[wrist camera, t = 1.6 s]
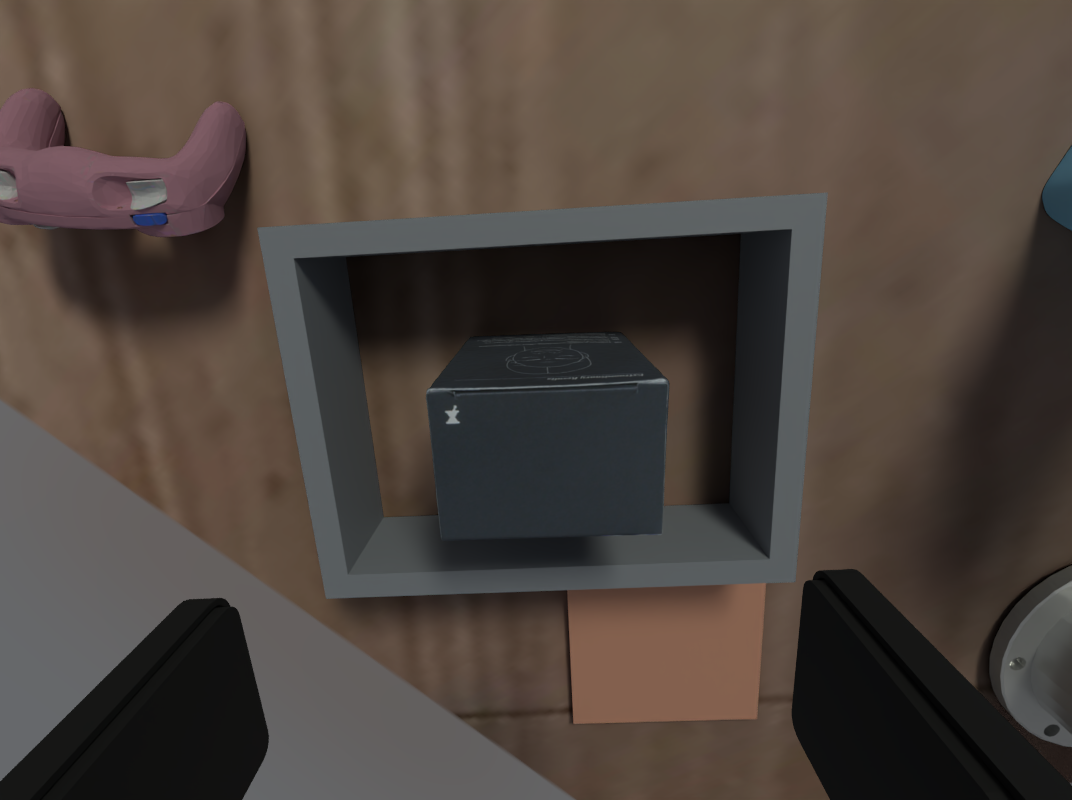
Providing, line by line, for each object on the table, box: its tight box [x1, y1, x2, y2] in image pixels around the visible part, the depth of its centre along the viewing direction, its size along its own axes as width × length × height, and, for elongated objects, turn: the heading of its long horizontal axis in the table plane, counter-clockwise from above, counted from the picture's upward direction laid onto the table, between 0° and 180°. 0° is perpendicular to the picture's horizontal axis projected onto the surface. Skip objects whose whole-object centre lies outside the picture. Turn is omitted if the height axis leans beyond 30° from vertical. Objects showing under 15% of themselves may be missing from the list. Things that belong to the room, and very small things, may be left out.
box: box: [426, 332, 669, 541], centre depth 22 cm, size 8×6×11 cm
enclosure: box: [257, 193, 827, 599], centre depth 25 cm, size 21×16×6 cm
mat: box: [567, 583, 766, 724], centre depth 31 cm, size 11×11×1 cm
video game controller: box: [0, 88, 246, 237], centre depth 23 cm, size 10×5×7 cm, turn 86°
